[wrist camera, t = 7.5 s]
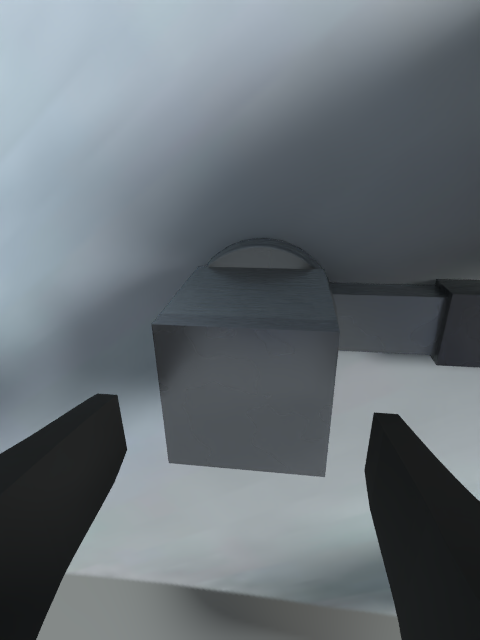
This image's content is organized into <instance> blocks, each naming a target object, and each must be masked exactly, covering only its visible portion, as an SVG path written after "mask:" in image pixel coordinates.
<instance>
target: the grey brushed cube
mask: <svg viewBox="0 0 480 640" xmlns="http://www.w3.org/2000/svg"><path fill="white" fill-rule="evenodd" d="M152 331H153V339H154V347H155V355H156V363H157V371H158V379H159V387H160V395H161V403H162V412H163V420H164V428H165V436H166V444H167V452H168V460H169V463H175V464H186V465H197V466H208V467H220V468H231V469H242V470H253V471H264V472H275V473H286V474H298V475H309V476H320V477H325V471H326V462H327V452H328V443H329V433H330V424H331V414H332V405H333V395H334V385H335V376H336V366H337V357H338V347H339V338H340V330H339V326H338V322H337V318H336V314H335V310H334V306H333V302H332V298H331V294H330V290H329V286H328V282H327V278H326V274H325V270H324V269H286V268H241V267H198V268H197V269H196V270H195V271H194V273H193V274H192V275H191V276H190V278H189V279H188V280H187V281H186V283H185V284H184V285H183V286H182V288H181V289H180V290H179V291H178V292H177V294H176V295H175V296H174V297H173V299H172V300H171V301H170V302H169V304H168V305H167V306H166V307H165V308H164V310H163V311H162V312H161V313H160V315H159V316H158V317H157V318H156V320H155V321H154V322H153V323H152Z"/></svg>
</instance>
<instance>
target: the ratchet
mask: <svg viewBox="0 0 480 640" xmlns="http://www.w3.org/2000/svg"><path fill="white" fill-rule="evenodd" d="M206 267H241V268H286V269H322V268H321V267H320V265H319V264H318V263H317V262H316V261H315V260H314V259H313V258H312V257H311V256H310V255H309V254H308V253H306V252H305V251H303V250H302V249H300V248H298V247H296V246H294V245H292V244H290V243H287V242H284V241H281V240H276V239H268V238H256V239H249V240H244V241H241V242H238V243H235V244H233V245H231V246H229V247H226V248H225V249H223V250H222V251H221V252H219V253H218V254H217V255H216V256H214V257H213V258H212V259H211V260H210V262H209V263H208V264H207V265H206ZM326 278H327V276H326ZM327 282H328V286H329V290H330V294H331V298H332V302H333V306H334V310H335V314H336V318H337V322H338V326H339V330H340V338H339V347H338V350H340V351H361V352H383V353H404V354H425V355H430V356H431V357H432V359H433V361H434V362H435V364H436V365H443V366H463V367H480V280H452V279H436V284H435V285H402V284H361V283H329V280H328V278H327Z"/></svg>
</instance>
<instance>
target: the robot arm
mask: <svg viewBox="0 0 480 640" xmlns="http://www.w3.org/2000/svg"><path fill="white" fill-rule="evenodd" d="M126 451H127V446H126V440H125V435H124V429H123V424H122V418H121V413H120V407H119V402H118V396H117V395H110V394H96V395H94V396H93V397H91V398H89V399H87V400H86V401H84V402H83V403H81V404H79V405H78V406H76V407H75V408H73V409H72V410H70V411H69V412H67V413H65V414H64V415H62V416H61V417H59V418H58V419H56V420H55V421H53V422H52V423H50V424H48V425H47V426H45V427H44V428H42V429H41V430H39V431H37V432H36V433H34V434H33V435H31V436H30V437H28V438H26V439H25V440H23V441H21V442H20V443H18V444H16V445H14V446H13V447H11V448H9V449H8V450H6V451H4V452H3V453H1V454H0V640H36V638H37V636H38V634H39V631H40V629H41V626H42V624H43V621H44V619H45V617H46V614H47V612H48V610H49V608H50V605H51V603H52V601H53V599H54V597H55V594H56V592H57V590H58V587H59V585H60V583H61V581H62V578H63V576H64V574H65V572H66V570H67V569H68V567H69V565H70V563H71V561H72V559H73V557H74V555H75V553H76V551H77V550H78V548H79V546H80V544H81V542H82V541H83V539H84V537H85V535H86V533H87V532H88V530H89V528H90V526H91V524H92V522H93V521H94V519H95V517H96V515H97V513H98V512H99V510H100V508H101V506H102V504H103V502H104V501H105V499H106V497H107V495H108V493H109V491H110V489H111V488H112V486H113V484H114V482H115V479H116V477H117V474H118V472H119V470H120V467H121V464H122V462H123V459H124V456H125V454H126ZM365 477H366V485H367V492H368V499H369V506H370V511H371V515H372V519H373V523H374V526H375V530H376V534H377V538H378V542H379V546H380V550H381V553H382V557H383V561H384V565H385V569H386V573H387V576H388V580H389V584H390V588H391V592H392V596H393V599H394V604H395V608H396V613H397V617H398V622H399V627H400V633H401V638H402V640H480V501H479V500H477V499H476V498H475V497H474V496H473V495H472V494H471V493H470V492H469V491H468V490H467V489H466V488H465V487H464V486H463V485H462V484H461V483H460V482H459V481H458V480H457V479H456V478H455V477H454V476H453V475H452V474H451V473H450V471H449V470H448V469H447V468H446V467H445V466H444V465H443V464H442V463H441V462H440V461H439V460H438V459H437V458H436V457H435V455H434V454H433V453H432V452H431V451H430V450H429V449H428V448H427V447H426V445H425V444H424V443H423V442H422V441H421V440H420V439H419V438H418V436H417V435H416V434H415V433H414V432H413V431H412V430H411V428H410V427H409V426H408V425H407V424H406V423H405V422H404V421H403V419H402V418H401V417H400V416H399V415H398V414H387V413H374V415H373V421H372V428H371V434H370V440H369V446H368V452H367V459H366V465H365Z"/></svg>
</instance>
